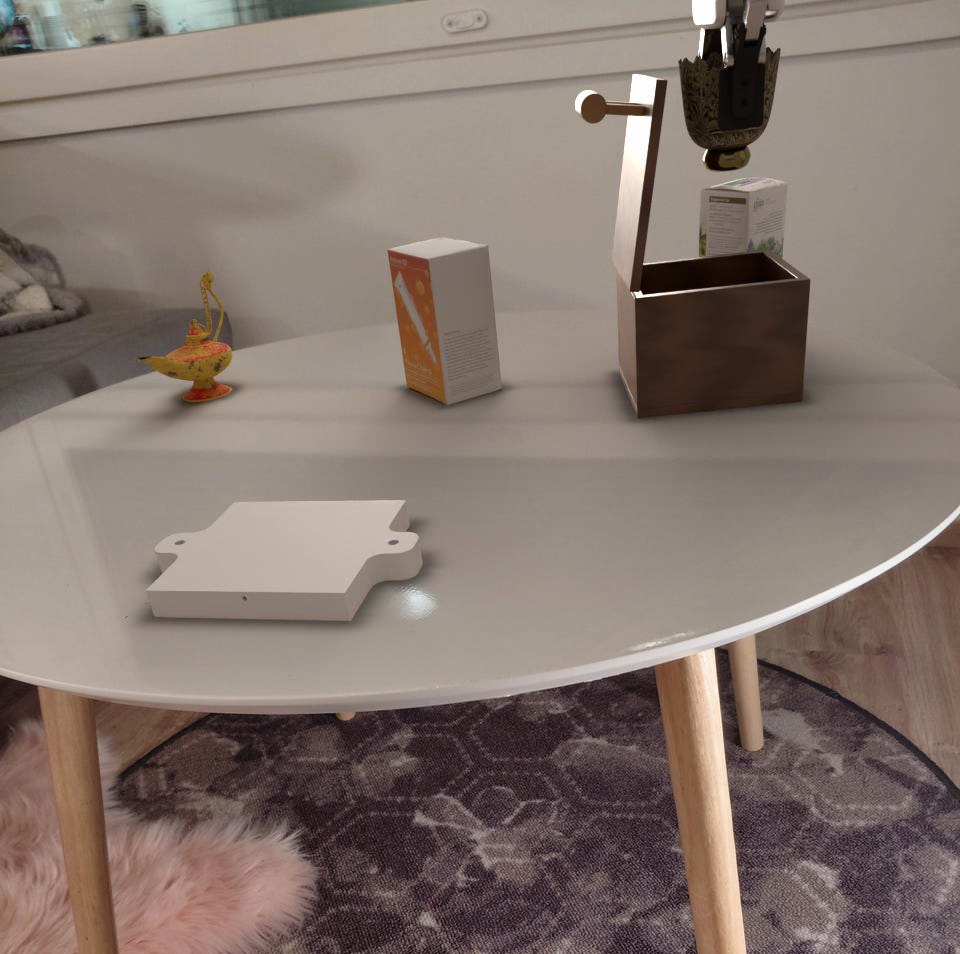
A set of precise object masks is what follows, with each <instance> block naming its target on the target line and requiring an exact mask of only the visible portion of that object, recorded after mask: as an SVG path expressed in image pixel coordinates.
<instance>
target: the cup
mask: <svg viewBox="0 0 960 954" xmlns="http://www.w3.org/2000/svg"><path fill="white" fill-rule="evenodd" d="M781 50H782V49H781V47H777V48H776V50H774V51H773V50H772V48H770V46H766V60H765V63H764V64H766V68H765V92H764V116H763V123H762V125H761V126H760V127H756V128H747V129H738V130H730V131H722V130H720V129H719V128H718V97H719V69H724V60H723V59H722V57H721V56H720V55H719V54H718V53H716V52H713V53H712V54H710V56H709V57H708V58H707V59H706V61H704V60H703V59H701V58H700V57H699V54H698V55H697V54H696V56H695V58H694V61H693V62H692V61H690V60H689V59H688V57H684V58H683V60H682V58H679V59H678V60H677V65H678V70H679V71H678V72H679V80H680V89H681V102H682V109H683V117H684V123H685V127H686V131H687V133H688V135H689V137H690V139H691V141H692V142H693V143H694V144H695V145H696V146H698V147H699V148H702V149H704V150H705V152H704V154H703V157H702V164H703V166H704V168H705V169H706V170H707V171H709V172H713V173H714V172H715V173H720V172H722V173H723V172H731V171H732V172H733V171H739V170H741V169H744V168H746V167H747V166H748V165H749V163H750V160H751V157H752V154H751V149H750V147H749V145H751V144H753V143H754V142H756V141H758V139H759V138H760V137H761V136H762V135H763V134H764V132H765V130H766V129H767V127H768V124H769V121H770V117H771V114H772V109H773V104H774V99H775V92H776V85H777V79H778V72H779V64H780V59H781V52H782V51H781Z"/></svg>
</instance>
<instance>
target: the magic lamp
mask: <svg viewBox="0 0 960 954" xmlns="http://www.w3.org/2000/svg"><path fill="white" fill-rule="evenodd" d="M214 279H215V278H214V274H213V273H212V272H211V270H210V269H208V270H206V271H204V273H203V274H202V277H201V278H200V281H199V288H200V289H199V290H200V293H201V294H200V295H201V297H202V298H201V299H202V302H203V306H204V313H205V320H206V325H203V324H201V323H199V322H198V320H197V319H196V318H195V319H193V318H192V319H190V320H189V325H188V327H189V330H188V333H187V335H186V336H185V339H184V345H182V346H181V347H179V348H177V349H174V350H172V351H171V352H169V353H167V354H166V355H164V356H153V355H152V356H151V355H150V356H139V357H135V358H134V359H133V362H136V363H139V362H141V363H144V364H146V365H147V366H149V367H150V368H151V369H153V370H155V371H156V372H158V373H159V374H161V375H163V376H166V377H169V378H171V379H174V380H175V379H176V380H179V381H180V380H181V381H187V382H193V383H192V386H191V388H190V389H189V390H188V391H187V392H186V393H184V394H183V396H182V400H183V401H185V402H189V403H200V402H209V401H214V400H217V399H220V398H222V397H225V396H227V395H229V394H230V393H231V392H232V391H233V388H232V387H231V386H228V385H226V384H222V383H221V382H218V381H217V380H216V378H214V377H216V376H218V375H219V374H221V373H223V372H224V371H225V370H226V369H227V368H228V367H229V366H230V364H231V362H232V359H233V351H232V348H231V347H230V345H228V344H227V343H224V342H221V341H220V342H219V341H218V338H219V335H220V332H221V330H222V329H221V328H222V325H223V321H224V315H225V314H224V308H223V305H222V302H221V301H220V298H218V296H217V295H216V294H215V292H214V291H213V289H212V285H213V282H214ZM202 285H203V286H202ZM207 291H208V292H209V294H210V295H211V296H212V298H213V299H214V300H215V302H216V303H217V305H218V307H219V308H218V309H219V312H220V313H219V315H220V316H219V321H218V323H217V328H216V331H215V332H214V333H215V334H214V336H213V338H212V340H211V338H210V337H209V336H210V335H211V334H212V332H213V320H212V312H211V311H212V310H211V306H210V302H209V298H208V293H207ZM201 327H202V328H201Z"/></svg>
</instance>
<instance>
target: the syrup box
mask: <svg viewBox="0 0 960 954" xmlns="http://www.w3.org/2000/svg"><path fill="white" fill-rule="evenodd" d="M699 192H700V195H699V221H698V222H699V225H698V226H699V229H698V230H699V231H698V233H699V234H698V257H705V256H714V255H723V254H732V253H741V252H750V251H759V250H768V249H770V250H771V251H773V252H774V253H775V254H777V255H778V256H779V257H781V258H782V259H783V255H784V242H785V224H786V213H787V212H786V211H787V196H788V194H787V193H788V183H787V182H786V181H785V180H780V179H775V178H770V177H769V178H768V177H744V178H737V179H733V180H730V181H727V182H722V183H719V184H714V185H712V186H708V187H704V188H701V189H700V191H699Z"/></svg>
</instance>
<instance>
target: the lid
mask: <svg viewBox="0 0 960 954" xmlns="http://www.w3.org/2000/svg"><path fill="white" fill-rule="evenodd" d="M667 89H668V79H666V78H665V79H664V78H660V77H655V76H651V75H646V74H640V73H633V74H632V78H631V87H630V96H629V101H616V100H615V101H614V100H606V99H605V97H604V96H603V95H602V94H600V93H597V92H595V91H594V90H590V89H587V90H583V91H581V92H580V93H579V94H578V95H577V97H576V99H575V102H574V109H575V113H576V114H577V115H578V116H579V117H580V118H581V119H582V120H584V121H585V122H587V123H588V124H593V125H594V124H599V123H601V121H603V120H604V118H605V117H606V115H608V116H609V115H611V116H626V117H627V123H626V131H625V139H624V147H623V157H622V165H621V173H620V182H619V191H618V199H617V209H616V217H615V225H614V226H615V227H614V233H613V241H612V242H613V243H612V251H611V260H610V261H611V262H612V264H613V266H614V267H615V270H616V269H617V271H618V273H619V274H620V276H621V278H622V279H623V281H624V283H625V285H626V286H627V288H628V290H629V291H630V292H640V286H641V278H642V271H643V263H645V254H646V246H647V239H648V232H649V225H650V216H651V210H652V203H653V201H652V200H653V196H654V195H653V194H654V189H655V188H654V187H655V179H656V172H657V164H658V156H659V151H660V150H659V149H660V142H661V134H662V126H663V119H664V112H665V106H666V105H665V103H666V95H667Z"/></svg>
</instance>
